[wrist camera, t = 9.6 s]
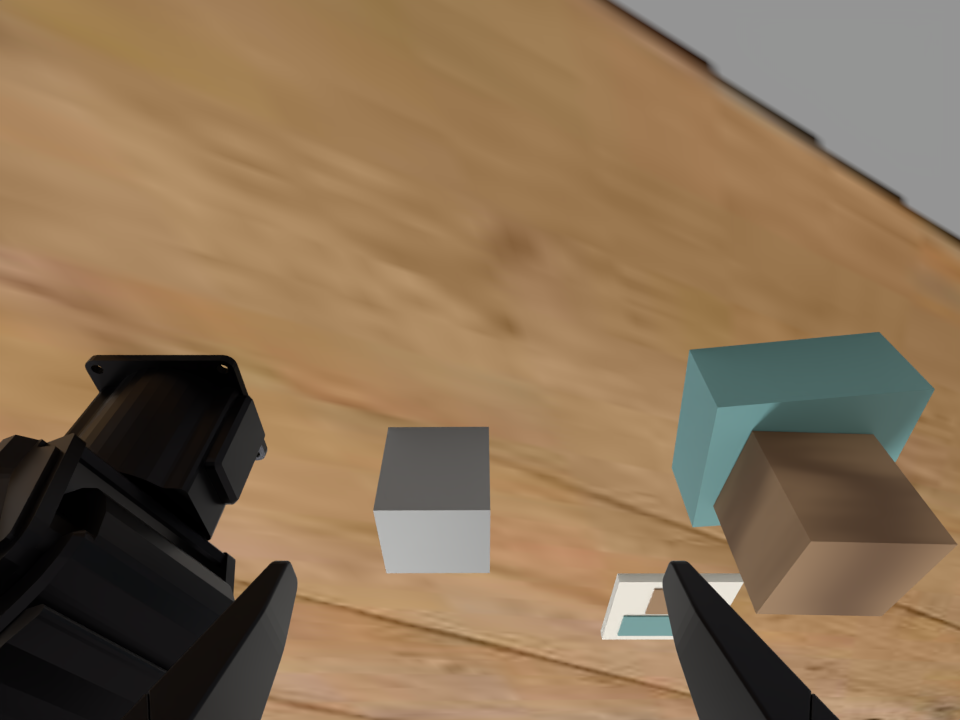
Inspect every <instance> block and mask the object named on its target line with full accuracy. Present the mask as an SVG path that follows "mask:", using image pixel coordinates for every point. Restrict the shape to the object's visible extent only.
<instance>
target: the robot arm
mask: <svg viewBox="0 0 960 720" xmlns="http://www.w3.org/2000/svg"><path fill="white" fill-rule="evenodd" d="M221 365H224V366H226V367H227V368H224V367H223V366H221ZM99 366H100V367H99ZM85 368H86V371H87V372H88V374H89V376H90V377H91V379H92V381H93V382H94V384H95V386H96V388H97V389H98V391H99V394H98V395H97V396H96V397H95V398H94V400H93V401H92V402H91V403H90V405H89V406H88V407H87V408H86V410H85V411H84V412H83V413H82V414H81V416H80V417H79V418H78V419H77V421H76V422H75V423H74V424H73V426H72V427H71V428H70V429H69V430H68V432H67V433H66V434H65V435H64V436H63V437H60V438H58V439H55V440H52V441H50V442H45V441H44V440H43V439H40V440H37V439H33V438H29V437H24V436H20V435H13V436H10V437H8V438H5V439H3V440H2V441H1V442H0V720H261V718H262V715H263V712H264V709H265V706H266V703H267V700H268V697H269V694H270V691H271V688H272V685H273V682H274V679H275V676H276V673H277V670H278V667H279V664H280V661H281V658H282V655H283V651H284V648H285V643H286V639H287V635H288V630H289V625H290V621H291V616H292V611H293V607H294V602H295V597H296V593H297V586H298V581H297V577H296V574H295V572H294V569H293V567H292V564H291V562H290V561H273V562H271V563H270V564H269V565H268V566H267V567H266V568H265V569H264V570H263V571H262V573H261V574H260V575H259V576H258V577H257V578H256V579H255V580H254V581H253V582H252V583H251V584H250V585H249V586H248V587H247V588H246V589H245V590H244V591H243V592H242V593H241V595H240V596H239V597H238V598H237V599H236V600H235V599H234V578H235V562H236V561H235V559H234V558H233V557H232V556H231V555H229V554H228V553H227V552H222V551H220V550H219V549H218V548H216V547H215V546H214V545H213V544H211V543H210V542H209V540H210V539H211V538H212V536H213V533H214V531H215V529H216V526H217V524H218V522H219V520H220V517H221V515H222V513H223V510H224V508H225V506H226V505H233V504H235V503H236V502H237V501H238V500H239V497H240V495H241V493H242V490H243V488H244V486H245V483H246V481H247V478H248V476H249V474H250V471H251V469H252V466H253V464H254V462H255V460H262V459H264V457H265V456H266V453H267V451H268V450H267V445H266V443H265V440H264V438H265V432H264V430H263V427H262V424H261V421H260V418H259V415H258V413H257V410H256V407H255V404H254V401H253V399H252V398H251V397H250V396H249V395H248V392H247V390H246V387H245V384H244V381H243V378H242V376H241V373H240V370H239V367H238V364H237V362H236V361H235V360H234V359H233V358H232V357H229V356H227V355H94V356H92V357H91V358H90V359H89V360H88V361H87V362H86V363H85ZM662 586H663V593H664V597H665V602H666V607H667V611H668V616H669V621H670V625H671V630H672V635H673V639H674V644H675V648H676V651H677V655H678V658H679V661H680V664H681V667H682V670H683V673H684V676H685V679H686V682H687V685H688V688H689V691H690V694H691V697H692V700H693V703H694V706H695V709H696V712H697V715H698V718H699V720H840V719H839V718H838V717H837V716H836V715H835V714H834V713H833V712H832V711H831V710H830V709H829V708H828V707H827V706H826V705H825V704H824V703H823V702H822V701H821V700H820V699H819V698H818V697H817V696H816V695H815V694H814V693H813V694H811V690H810V689H809V688H808V687H807V686H806V685H805V684H804V683H803V682H802V681H801V680H800V678H799V677H798V676H797V675H796V674H795V673H794V672H793V671H792V670H791V669H790V668H789V667H788V666H787V665H786V664H785V663H784V662H783V661H782V660H781V659H780V657H779V656H778V655H777V654H776V653H775V652H774V651H773V650H772V649H771V648H770V647H769V646H768V645H767V644H766V643H765V642H764V641H763V640H762V639H761V638H760V637H759V635H758V634H757V633H756V632H755V631H754V630H753V629H752V628H751V627H750V626H749V625H748V624H747V623H746V622H745V621H744V620H743V619H742V618H741V617H740V616H739V614H738V613H737V612H736V611H735V610H734V609H733V608H732V607H731V606H730V605H729V604H728V603H727V602H726V601H725V600H724V599H723V598H722V597H721V596H720V595H719V594H718V592H717V591H716V590H715V589H714V588H713V587H712V586H711V585H710V584H709V583H708V582H707V581H706V580H705V579H704V578H703V577H702V576H701V575H700V574H699V573H698V571H697V570H696V569H695V568H694V567H693V566H692V565H691V564H690V563H689V562H687V561H670V562H669V564H668V567H667V569H666V572H665V574H664V577H663V581H662Z"/></svg>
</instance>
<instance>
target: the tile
mask: <svg viewBox="0 0 960 720" xmlns="http://www.w3.org/2000/svg"><path fill="white" fill-rule="evenodd" d="M664 574H665V573H618V574H617V577H616V580H615V584H614V587H613V591H612V594H611V597H610V601H609V604H608V607H607V611H606V614H605V618H604V621H603V624H602V628H601V637H602V640H614V639H673V635H672V630H671V625H670V621H669V616H668V611H667V607H666V602H665V597H664V593H663V586H662V581H663V577H664ZM699 574H700V575H701V576H702V577H703V578H704V579H705V580H706V581H707V582H708V583H709V584H710V585H711V586H712V587H713V588H714V589H715V590H716V591H717V592H718V594H719V595H720V596H721V597H722V598H723V599H724V600H725V601H726V602H727V603H728V604H729V605H731V604H732V602H733V600H734V598H735V597H736V595H737V593H738V591H739V590H740V588H741V586H742V584H743V583H744V582H743V580H742V577H741V575H740V573H699Z"/></svg>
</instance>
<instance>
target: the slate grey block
mask: <svg viewBox="0 0 960 720" xmlns="http://www.w3.org/2000/svg"><path fill="white" fill-rule="evenodd" d="M373 512H374V517H375V522H376V527H377V531H378V536H379V541H380V545H381V550H382V555H383V559H384V564H385V569H386V573H490V462H489V427H388V432H387V437H386V443H385V448H384V454H383V459H382V465H381V470H380V476H379V481H378V486H377V492H376V497H375V503H374V508H373Z"/></svg>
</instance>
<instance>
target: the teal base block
mask: <svg viewBox="0 0 960 720" xmlns="http://www.w3.org/2000/svg"><path fill="white" fill-rule="evenodd" d="M934 390H935V389H934V388H933V387H932V386H931V385H930V384H929V382H928V381H927V380H926V379H925V378H924V377H923V376H922V375H921V374H920V373H919V372H918V371H917V370H916V369H915V368H914V367H913V366H912V365H911V364H910V363H909V362H908V361H907V360H906V359H905V358H904V357H903V356H902V355H901V354H900V353H899V352H898V351H897V350H896V349H895V348H894V347H893V345H892V344H891V343H890V342H889V341H888V340H887V339H886V338H885V337H884V336H883V335H882V334H881V333H880V332H872V333H861V334H851V335H840V336H830V337H819V338H808V339H798V340H787V341H776V342H766V343H755V344H744V345H734V346H723V347H713V348H702V349H691V350H689V356H688V362H687V369H686V376H685V382H684V389H683V396H682V402H681V409H680V416H679V422H678V429H677V436H676V443H675V449H674V456H673V463H672V470H673V473H674V476H675V479H676V482H677V484H678V487H679V490H680V493H681V496H682V499H683V502H684V504H685V507H686V510H687V513H688V516H689V519H690V522H691V524H692V527H704V526H719V525H720V522H719V520H718V517H717V515H716V512H715V510H714V507H713V505H714V503H715V502H716V500H717V498H718V496H719V494H720V492H721V490H722V488H723V486H724V484H725V482H726V480H727V478H728V476H729V475H730V473H731V471H732V469H733V467H734V465H735V463H736V461H737V459H738V457H739V455H740V453H741V451H742V449H743V448H744V446H745V444H746V442H747V440H748V438H749V436H750V434H751V432H752V431H772V432H807V433H842V434H874V436H875V437H876V438H877V440H878V441H879V442H880V444H881V445H882V446H883V448H884V449H885V450H886V451H887V453H888V454H889V455H890V457H891V458H892V459H893V461H894V462H896V460H897V459H898V457H899V455H900V453H901V451H902V449H903V447H904V446H905V444H906V442H907V440H908V438H909V436H910V434H911V433H912V431H913V429H914V427H915V425H916V423H917V421H918V420H919V418H920V416H921V414H922V412H923V410H924V409H925V407H926V405H927V403H928V401H929V399H930V397H931V396H932V394H933V392H934Z"/></svg>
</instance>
